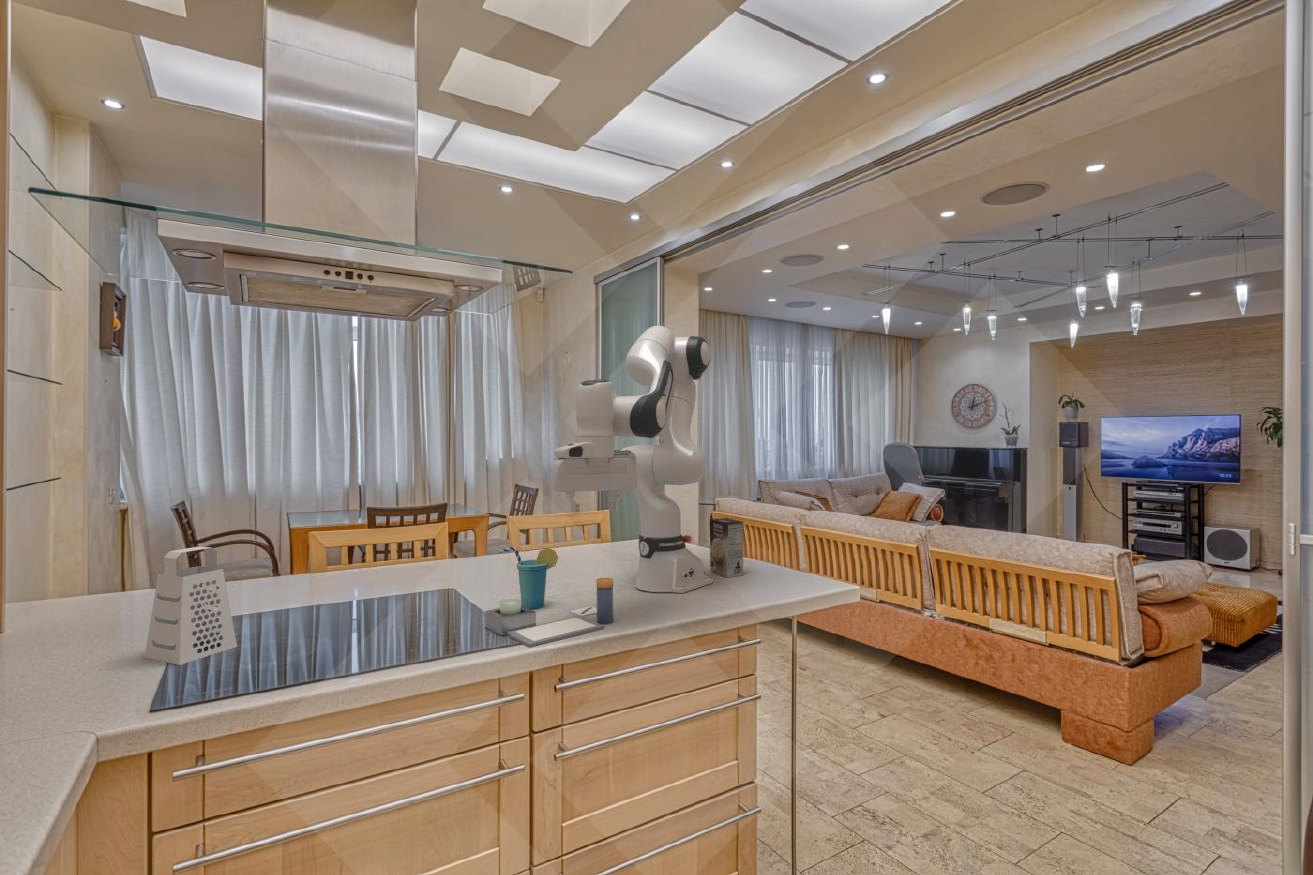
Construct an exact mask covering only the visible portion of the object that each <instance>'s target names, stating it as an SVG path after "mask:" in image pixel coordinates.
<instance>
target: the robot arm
mask: <svg viewBox="0 0 1313 875" xmlns="http://www.w3.org/2000/svg"><path fill="white" fill-rule="evenodd" d="M710 362H711V349H710V346H709V343H708V341H707V340H706V339H705V338H704V337H703V336H697V335H690V336H676V337H675V335H674V333H673V332H672V331H671V330H670V329H669V328H667V327H666V326H663V325H653V326H651V327H648V328H647V329H646V330H645V331H644V332H643V333H641V335H640V336H638V338H637V339H636V341H635V342H634V343H633V344H632V346H631V347H630V349H629V350H628V352H627V354H626V358H625V368H626V372H627V373H628V375H629V377H630V378H631V379H632V380H633V381H634V382H636V383H637V384H639V385H641V386H644V387H649V391H648V393H645V394H641V395H640V394H639V395H626V396H625V395H623V396H622V395H617V394H616V393H615V392H614V387H613V382H612V381H611V380H609V379H605V378H604V379H603V378H602V379H590V380H588V379H587V380H584V381H582V382H580V384H579V385H578V388H577V392H576V403H575V420H576V425H577V427H576V428H577V430H576V433H575V442H572V443H569V444H566V445H564V446H560V447H557V448H555V449H554V457H555V458H556V459H555V460H554V461H553V462H552V465H551V469H550V477H549V486H550V489H551V490H552V491H553V492H554V493H555V492H556V493H565V497H566V499H567V501H568V503H569V505H570V512H571V513H579V512H580V504H579V503H576V501H575V499H574V497H576V492H604V491H606V492H608V491H613V495H615V496H614V497H613V500H612V501H610V502H608V505H609V508H608V510H609V511H618V510H619V503H620V501H621V500H622V497H623V495H624V494H623V493H624V492H623V491H632V492H633V495H634V496H635V498H636V501H637V504H638V511H639V523H640V530H639V531H640V534H639V535H638V549H639V550H638V551H639V560H638V570H637V575H636V581H635V583H634V587H635V588H636V589H638V590H640V591H644V592H651V593H679V594H684V593H688V592H690V591H692V590H696V589H699V588H701V587H705V586H707V585H710V584H713V582H714V579H713V578H712V577H710V576H708V575H705V566H704V563H703V561H702V559H700V558H699V557H698V556H697V555H695V554H694V553H693V552H692V551H691V550H689V549H688V548H687V546H686V544H685V543H688V544H691V543H692V542H693V536H691V535H687V534H685V535H682V534H681V528H682V527H681V522H682V521H681V508H680V506H679V504H678V503H677V502H676V501H675V500H674V499H672V498H671V497H668V496H667V495H666V494H665V492H664V491H663V488H662V485H663V486H665V485H668V486H670V485H672V486H673V485H674V486H685V485H689V484H690V485H691V484H694V483H699V482H700V481H701V480H702V478H703V477H704V475H705V474H706V470H707V461H706V457H705V455H704V453H703V452H702V450H701V449H700V448H699V447H698V446H696V445H695V444H694V443H693V441H692V439H691V424H692V418H693V414H694V411H695V407H696V406H695V404H696V397H697V396H696V394H697V393H696V392H697V391H696V390H697V386H696V382H695V381H696V380H697V381H698V380H700V379H701V377H702V375H703V374H704V373H705V371H706V370H707V369H708V367H709V364H710ZM615 437H619V438H620V437H626V438H627V437H637V438H647V439H648V438H649V439H654V438H655V437H658V438H659V439H660V440H662V441H663V443H660V444H636V445H629V446H627V447H625V446H624V447H623V448H622V449H621V450H620V449H619V450H618V449H615Z"/></svg>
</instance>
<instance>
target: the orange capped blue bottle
mask: <svg viewBox="0 0 1313 875" xmlns="http://www.w3.org/2000/svg"><path fill="white" fill-rule="evenodd" d="M595 581H596V582H595V586H596V608H597V613H596V623H599V624H601V625H609V623H610V624H612V623H613V622H614V578H612V577H600V578H597V579H595Z"/></svg>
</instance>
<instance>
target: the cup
mask: <svg viewBox="0 0 1313 875" xmlns="http://www.w3.org/2000/svg"><path fill="white" fill-rule="evenodd" d="M511 551H513V552H514V554H515V556H516V559H517V561H518V562H517V563H516V569H517V570H518V571H517V572H518V581H519V591H520V592H519V593H520V601H521V606H523V607H526V608H528V609H530V610H537V609H541V608H543V607H544V605H545V595H546V583H547V582H546V580H547V572H548V570H549V569H551V568H553V567H556V565H557V562H558V560H559V556H558V554H557V552H556V550H555V549H552V548H551V547H546V548H544V549H541V550H540V551H539V552H538V555H537V557H536V559H527V560H523V559H522V558H521V555H520V553H519V550H518V548H516V547H514V546H508V547H505V548H502V549H499V553H500V554H501V553H502V554H503V553H506V552H511Z"/></svg>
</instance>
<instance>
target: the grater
mask: <svg viewBox="0 0 1313 875" xmlns="http://www.w3.org/2000/svg"><path fill="white" fill-rule="evenodd" d="M201 550H204V566H202V565H198V566H193V567H187V568H182V569H177V559H178V557H180V555H181V554H182V553H187V552H193V551H201ZM217 558H218V553H217V550H215V549H214V548H213V547H209V546H193V547H188V548H181V549H175V550H169V551H168V552H167V553H166V554H165V556H164V557H163V568H164V569H163V571H164V572H159V573H158V574H157V579H156V586H155V591H154V598H153V604H152V610H151V614H150V615H151V617H150V622H149V629H148V634H147V640H146V646H145V653H144V658H145V659H149V660H154V661H159V662H164V663H168V664H174V665H178V666H181V665H184V664H188V663H190V662H194V661H196V660H200V659H203V658H206V657H209V655H210V656H212V655H211V654H213V655H215V654H214V653H216V654H218V652H219V653H222V652H225V651H228V650H230V649H234V648H237V647H238V643H237V639H236V633H235V628H234V622H233V617H232V616H233V615H232V610H231V605H230V599H229V593H228V589H227V583H226V576H225V572H224V571H225V570H224V569H223V568H218V559H217ZM211 588H212V590H211ZM209 608H211V609H209ZM214 608H217V609H214ZM213 629H214V630H213ZM201 642H203V645H200V644H201ZM207 642H208V643H207ZM194 644H197V646H196V647H194ZM217 644H220V646H217ZM212 645H214V647H213V648H211V646H212ZM206 647H207V648H208V649H207V650H204V649H205V648H206ZM199 649H201V652H198V650H199ZM227 649H228V650H227ZM224 650H225V651H224ZM221 651H222V652H221ZM199 658H200V659H199Z"/></svg>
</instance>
